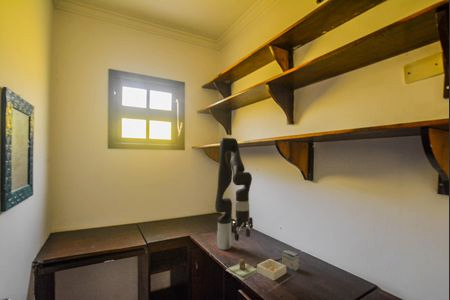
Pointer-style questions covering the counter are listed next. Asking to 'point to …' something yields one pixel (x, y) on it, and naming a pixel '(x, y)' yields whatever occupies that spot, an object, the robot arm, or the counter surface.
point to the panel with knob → (239, 276)
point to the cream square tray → (273, 275)
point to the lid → (242, 269)
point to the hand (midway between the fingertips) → (242, 238)
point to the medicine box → (290, 260)
